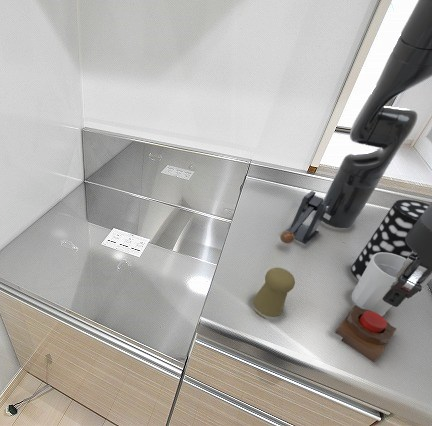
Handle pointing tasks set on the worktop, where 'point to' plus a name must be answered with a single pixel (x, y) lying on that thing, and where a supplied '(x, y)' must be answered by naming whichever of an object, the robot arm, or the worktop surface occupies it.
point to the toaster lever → (301, 220)
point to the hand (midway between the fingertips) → (390, 301)
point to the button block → (364, 335)
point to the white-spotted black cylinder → (391, 234)
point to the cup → (377, 282)
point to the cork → (273, 292)
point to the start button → (373, 321)
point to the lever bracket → (308, 233)
